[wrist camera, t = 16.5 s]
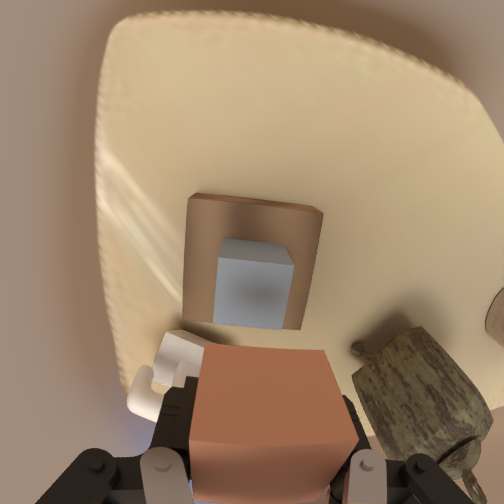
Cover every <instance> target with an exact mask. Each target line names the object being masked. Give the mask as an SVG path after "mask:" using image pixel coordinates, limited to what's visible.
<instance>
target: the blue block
mask: <svg viewBox="0 0 504 504" xmlns="http://www.w3.org/2000/svg"><path fill="white" fill-rule="evenodd" d="M293 271H294V264H293V262H292V260H291V258H290V256H289V254H288V252H287V250H286V248H285V246H284V245H281V244H272V243H264V242H255V241H247V240H238V239H229V238H223V241H222V245H221V249H220V253H219V257H218V268H217V279H216V290H215V302H214V314H213V323H214V324H223V325H232V326H242V327H253V328H265V329H278V330H282V326H283V321H284V317H285V312H286V307H287V302H288V297H289V292H290V286H291V281H292V276H293Z"/></svg>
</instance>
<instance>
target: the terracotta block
mask: <svg viewBox="0 0 504 504" xmlns="http://www.w3.org/2000/svg"><path fill="white" fill-rule="evenodd" d="M358 441H359V438H358V435H357V433H356V430H355V427H354V425H353V422H352V420H351V417H350V414H349V412H348V409H347V407H346V404H345V402H344V399H343V397H342V394H341V392H340V389H339V387H338V384H337V382H336V379H335V377H334V374H333V372H332V369H331V367H330V364H329V362H328V359H327V357H326V355H325V352H324V350H298V349H276V348H260V347H246V346H234V345H223V344H214V343H205V346H204V352H203V358H202V363H201V369H200V375H199V380H198V386H197V392H196V398H195V404H194V410H193V417H192V423H191V429H190V436H189V450H190V465H191V477H192V488H193V499H194V501H199V502H208V503H220V504H293V503H306V502H315V501H316V500H317V499H318V498H319V496H320V495H321V494H322V493H323V491H324V490H325V489H326V487H327V486H328V485H329V483H330V482H331V481H332V479H333V478H334V477H335V475H336V474H337V472H338V471H339V470H340V468H341V467H342V465H343V464H344V462H345V461H346V460H347V458H348V457H349V455H350V454H351V452H352V450H353V449H354V447H355V446H356V444H357V443H358Z"/></svg>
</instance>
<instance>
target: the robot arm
mask: <svg viewBox="0 0 504 504" xmlns="http://www.w3.org/2000/svg"><path fill="white" fill-rule="evenodd" d="M486 331H487V333H488V334H489V335H490V336H491V337H492V338H493V339H495V340H496V341H497V342H498V343H499V344H500V345H501V346H502V347H503V348H504V289H503V290H502V291H501V292H500V293H499V294H498V295H497V297H496V298H495V300H494V302H493V303H492V305H491V308H490V310H489V312H488V315H487V319H486ZM198 380H199V377H193V376H186V379H185V384H184V388H180V387H174V386H172V387H171V388H170V389H169V390H168V391H167V392H166V393H165V394H164V398H163V402H162V406H161V409H160V412H159V416H158V420H157V423H156V427H155V431H154V435H153V438H152V442H151V445H150V447H149V448H148V450H147V451H145V452H144V453H143V454H141V455H138V456H135V457H121V458H120V457H116V458H115V457H113V456H112V455H111V454H110V453H108V452H107V451H105V450H102V449H98V448H91V449H87V450H85V451H83V452H82V453H81V454H79V456H78V457H77V458H76V459H75V460H74V461H73V462H72V463H71V465H70V466H69V467H68V468H67V469H66V470H65V471H64V472H63V473H62V474H61V476H60V477H59V478H58V479H57V480H56V481H55V482H54V483H53V484H52V486H51V487H50V488H49V489H48V490H47V491H46V492H45V493H44V494H43V495H42V497H41V498H40V499H39V500H38V501H37V502H36V503H35V504H195V503H194V500H193V497H192V494H191V490H190V486H189V481H190V480H192V477H191V465H190V450H189V436H190V429H191V423H192V417H193V410H194V404H195V398H196V392H197V386H198ZM342 397H343V399H344V402H345V404H346V407H347V409H348V412H349V414H350V417H351V420H352V422H353V425H354V427H355V430H356V433H357V435H358V438H359V441H358V443H357V444H356V446H355V447H354V449H353V450H352V452H351V454H350V455H349V457H348V458H347V460H346V461H345V462H344V464H343V465H342V467H341V468H340V470H339V471H338V472H337V474H336V475H335V477H334V478H333V479H332V481H331V482H330V483H329V484H330V487H329V489H328V491H327V495H326V502H325V504H420V503H421V504H475V503H473V501H472V500H471V499H470V498H469V497H468V496H467V495H466V494H465V493H464V492H463V491H462V490H461V489H460V487H459V486H458V485H457V484H455V482H454V481H453V480H452V479H451V478H450V477H449V476H448V475H447V474H446V473H445V472H444V471H443V469H442V468H441V467H440V466H439V465H438V464H437V463H436V462H435V461H434V460H433V459H432V458H431V457H430V456H428V455H426V454H423V453H416V454H413V455H411V456H410V457H409V458H408V459H407V460H406V461H399V460H387V459H384V457H383V456H382V455H381V454H380V453H379V452H377V451H375V450H372V449H371V447H370V444H369V442H368V439H367V437H366V434H365V432H364V429H363V427H362V424H361V422H360V421H359V420H360V419H359V417H358V415H357V414H356V410H355V407H354V405H353V403H352V402H351V401H350V400H349V399H348V398H347V397H346V396H345V395H342ZM413 494H414V495H413ZM414 496H415V497H416V498H417V499H418V500H419V501H418V500H417V499H416V498H415V497H414Z"/></svg>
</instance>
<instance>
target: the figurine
mask: <svg viewBox="0 0 504 504" xmlns="http://www.w3.org/2000/svg"><path fill="white" fill-rule="evenodd" d="M205 343H214V342H211V341H209V340H207V339H204V338H202V337H199V336H197V335H195V334H192V333H190V332H187V331H185V330H183V329H178V330H172V331H167V332H166V333H165V335H164V338H163V340H162V343H161V345H160V348H159V350H158V353H157V355H156V358H155V360H154V363H153V365H152V367H150V366H148V365H143V366H141V367H140V368H139V370H138V372H137V374H136V376H135V379H134V381H133V383H132V386H131V388H130V391H129V394H128V397H127V406H128V408H129V409H130V411H132V412H133V413H135V414H137V415H139V416H142V417H144V418H146V419H149V420H151V421H154V422H156V423H157V420H158V416H159V412H160V409H161V406H162V402H163V398H164V395H162V394H159V393H157V392H154V391H153V390H152V389H151V383H152V380H153V381H155V382H158V383H160V384H162V385H165V386H167V387H170V388H171V387H172V386H174V387H180V388H184V384H185V379H186V376H193V377H199V375H200V369H201V363H202V358H203V352H204V346H205ZM214 344H216V343H214Z"/></svg>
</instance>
